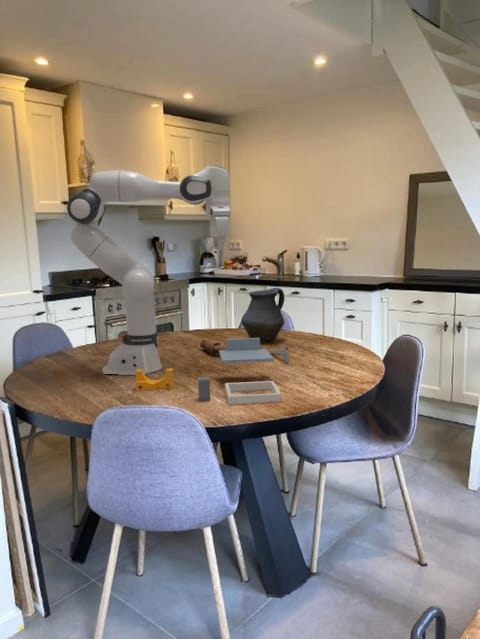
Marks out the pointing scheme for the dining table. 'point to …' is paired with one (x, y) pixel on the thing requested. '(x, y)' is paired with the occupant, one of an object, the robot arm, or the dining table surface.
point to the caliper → (282, 353)
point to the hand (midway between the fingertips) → (218, 249)
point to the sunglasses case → (212, 346)
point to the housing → (252, 398)
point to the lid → (244, 351)
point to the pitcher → (264, 315)
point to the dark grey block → (204, 388)
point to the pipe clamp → (153, 381)
